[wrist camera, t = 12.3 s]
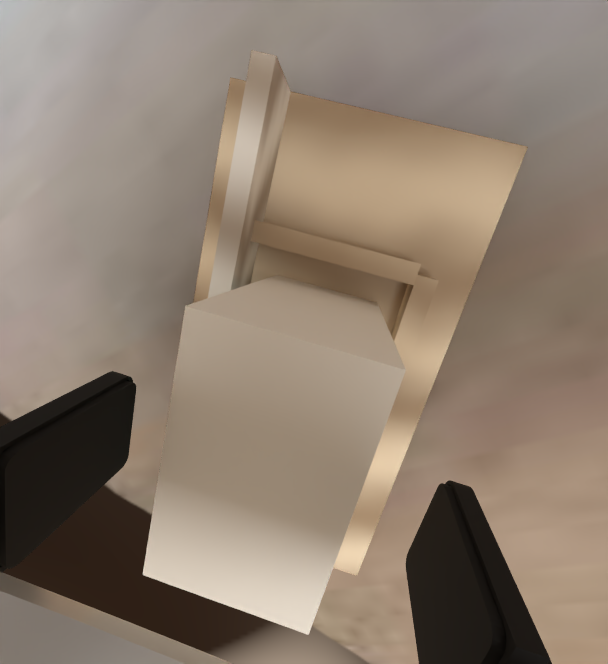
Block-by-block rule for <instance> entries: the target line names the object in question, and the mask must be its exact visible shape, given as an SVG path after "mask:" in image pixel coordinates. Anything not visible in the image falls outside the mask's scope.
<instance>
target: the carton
mask: <svg viewBox="0 0 608 664" xmlns="http://www.w3.org/2000/svg"><path fill="white" fill-rule="evenodd" d="M405 371H406V369H405V367H404V364H403V362H402V360H401V357H400V355H399V353H398V350H397V348H396V345H395V343H394V341H393V338H392V336H391V334H390V331H389V329H388V327H387V324H386V322H385V320H384V317H383V315H382V312H381V310H380V308H379V305H378V303H376V302H373V301H369V300H366V299H362V298H358V297H355V296H351V295H348V294H344V293H340V292H337V291H333V290H330V289H326V288H322V287H319V286H315V285H312V284H308V283H304V282H301V281H297V280H294V279H290V278H286V277H283V276H279V275H275V276H272V277H269V278H266V279H263V280H260V281H257V282H254V283H251V284H248V285H245V286H243V287H240V288H237V289H234V290H231V291H228V292H225V293H222V294H219V295H216V296H213V297H210V298H207V299H204V300H201V301H198V302H195V303H192V304H189V305H186V306H185V312H184V318H183V324H182V331H181V337H180V343H179V350H178V356H177V362H176V369H175V375H174V381H173V387H172V394H171V400H170V406H169V413H168V419H167V425H166V432H165V438H164V444H163V450H162V457H161V463H160V469H159V476H158V482H157V488H156V495H155V501H154V507H153V513H152V520H151V527H150V533H149V539H148V545H147V551H146V558H145V565H144V570H143V575H145V576H147V577H150V578H153V579H156V580H158V581H161V582H164V583H167V584H170V585H172V586H175V587H178V588H181V589H183V590H186V591H189V592H192V593H195V594H197V595H200V596H203V597H205V598H208V599H211V600H214V601H217V602H219V603H222V604H225V605H228V606H230V607H233V608H236V609H239V610H242V611H244V612H248V613H250V614H253V615H255V616H258V617H261V618H264V619H267V620H269V621H272V622H275V623H277V624H280V625H283V626H286V627H288V628H291V629H294V630H297V631H300V632H302V633H305V634H309V631H310V629H311V626H312V624H313V621H314V618H315V616H316V613H317V610H318V607H319V605H320V602H321V599H322V597H323V594H324V591H325V588H326V586H327V583H328V580H329V578H330V575H331V572H332V569H333V567H334V564H335V561H336V559H337V556H338V553H339V550H340V548H341V545H342V542H343V540H344V537H345V534H346V531H347V529H348V526H349V523H350V521H351V518H352V515H353V512H354V510H355V507H356V504H357V502H358V499H359V496H360V493H361V491H362V488H363V485H364V483H365V480H366V477H367V474H368V472H369V469H370V466H371V464H372V461H373V458H374V455H375V453H376V450H377V447H378V445H379V442H380V439H381V436H382V434H383V431H384V428H385V426H386V423H387V420H388V417H389V415H390V412H391V409H392V407H393V404H394V401H395V398H396V396H397V393H398V390H399V388H400V385H401V382H402V379H403V377H404V374H405Z"/></svg>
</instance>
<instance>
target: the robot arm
mask: <svg viewBox="0 0 608 664" xmlns="http://www.w3.org/2000/svg"><path fill="white" fill-rule="evenodd" d="M135 395H136V384H135V383H133V380H132V378H131V377H129V376H126V375H123V374H120V373H117V372H113V371H112V372H109V373H107V374H105V375H103V376H101V377H99V378H97V379H95V380H93V381H91V382H89V383H87V384H85V385H83V386H81V387H79V388H77V389H75V390H73V391H71V392H69V393H67V394H65V395H63V396H61V397H59V398H57V399H55V400H53V401H51V402H49V403H47V404H45V405H43V406H41V407H39V408H37V409H35V410H33V411H31V412H29V413H27V414H25V415H23V416H21V417H19V418H17V419H15V420H13V421H11V422H9V423H7V424H5V425H3V426H1V427H0V664H232V663H230V662H227V661H225V660H223V659H220V658H217V657H215V656H212V655H210V654H207V653H205V652H202V651H200V650H197V649H195V648H192V647H190V646H187V645H185V644H182V643H180V642H177V641H175V640H172V639H170V638H167V637H165V636H162V635H160V634H157V633H155V632H152V631H150V630H147V629H145V628H142V627H140V626H137V625H135V624H132V623H130V622H127V621H125V620H122V619H120V618H117V617H114V616H112V615H109V614H107V613H104V612H102V611H99V610H97V609H94V608H91V607H89V606H86V605H84V604H81V603H79V602H76V601H74V600H71V599H68V598H66V597H63V596H60V595H58V594H56V593H53V592H51V591H48V590H45V589H43V588H40V587H38V586H35V585H33V584H30V583H27V582H25V581H22V580H20V579H17V578H14V577H12V576H10V575H7V574H4V573H2V572H3V571H5V570H6V569H7V568H8V569H10V568H13V567H15V566H17V565H18V564H19V563H20V562H21V561H22V560H23V559H25V558H26V557H27V556H28V555H29V554H30V553H31V552H32V551H33V550H34V549H35V548H36V547H37V546H39V545H40V544H41V543H42V542H43V541H44V540H45V539H46V538H47V537H48V536H49V535H50V534H51V533H52V532H53V531H55V530H56V529H57V528H58V527H59V526H60V525H61V524H62V523H63V522H64V521H65V520H67V519H68V518H69V517H70V516H71V515H72V514H73V513H74V512H75V511H76V510H77V509H78V508H79V507H80V506H81V505H82V504H84V503H85V502H86V501H87V500H88V499H89V498H90V497H91V496H92V495H93V494H94V493H95V492H97V491H98V490H99V489H100V488H101V487H102V486H103V485H104V484H105V483H106V482H107V481H108V480H109V479H111V478H112V477H113V476H114V475H115V474H116V473H117V472H118V471H119V470H120V469H121V468H122V467H123V466H124V464H125V463H126V461H127V459H128V455H129V446H130V438H131V429H132V420H133V412H134V403H135ZM406 572H407V579H408V587H409V594H410V601H411V608H412V616H413V623H414V630H415V637H416V644H417V652H418V659H419V664H552V663H551V660H550V658H549V655H548V653H547V651H546V649H545V647H544V644H543V642H542V640H541V638H540V636H539V634H538V631H537V629H536V627H535V625H534V623H533V620H532V618H531V616H530V614H529V612H528V609H527V607H526V605H525V603H524V601H523V598H522V596H521V594H520V592H519V590H518V588H517V585H516V583H515V581H514V579H513V577H512V574H511V572H510V570H509V568H508V566H507V563H506V561H505V559H504V557H503V555H502V552H501V550H500V548H499V546H498V544H497V542H496V539H495V537H494V535H493V533H492V531H491V528H490V526H489V524H488V522H487V520H486V517H485V515H484V513H483V511H482V509H481V506H480V504H479V502H478V500H477V498H476V495H475V493H474V491H473V489H472V488H471V487H469V486H466V485H463V484H460V483H456V482H453V481H448V482H446V484H440V485H439V486H438V488H437V490H436V492H435V494H434V497H433V499H432V501H431V503H430V505H429V508H428V510H427V512H426V514H425V516H424V519H423V521H422V523H421V525H420V527H419V530H418V532H417V534H416V536H415V538H414V541H413V543H412V545H411V547H410V549H409V552H408V554H407V558H406Z"/></svg>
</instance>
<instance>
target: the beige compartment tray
mask: <svg viewBox="0 0 608 664" xmlns="http://www.w3.org/2000/svg"><path fill="white" fill-rule="evenodd" d="M527 148H528V147H526V146H522V145H518V144H514V143H509V142H505V141H501V140H496V139H492V138H488V137H484V136H479V135H475V134H471V133H466V132H462V131H458V130H454V129H449V128H445V127H441V126H436V125H432V124H428V123H424V122H419V121H415V120H411V119H406V118H402V117H398V116H394V115H389V114H385V113H381V112H376V111H372V110H368V109H364V108H359V107H355V106H351V105H346V104H342V103H338V102H334V101H329V100H325V99H321V98H316V97H312V96H308V95H304V94H299V93H295V92H291V91H290V88H289V86H288V83H287V81H286V78H285V76H284V74H283V71H282V69H281V66H280V64H279V61H278V59H277V56H275V55H271V54H266V53H262V52H257V51H253V50H251V56H250V62H249V67H248V73H247V79H246V81H244V80H239V79H235V78H231V77H230V83H229V89H228V96H227V102H226V108H225V114H224V120H223V126H222V132H221V138H220V144H219V150H218V156H217V162H216V168H215V174H214V180H213V186H212V192H211V198H210V204H209V210H208V217H207V223H206V229H205V235H204V241H203V247H202V253H201V259H200V265H199V271H198V277H197V283H196V289H195V295H194V301H193V303H195V302H198V301H201V300H204V299H207V298H210V297H213V296H216V295H219V294H222V293H225V292H228V291H231V290H234V289H237V288H240V287H243V286H245V285H248V284H251V283H254V282H257V281H260V280H263V279H266V278H269V277H272V276H275V275H279V276H283V277H286V278H290V279H294V280H297V281H301V282H304V283H308V284H312V285H315V286H319V287H322V288H326V289H330V290H333V291H337V292H340V293H344V294H348V295H351V296H355V297H358V298H362V299H366V300H369V301H373V302H376V303H378V305H379V308H380V310H381V312H382V315H383V317H384V320H385V322H386V324H387V327H388V329H389V331H390V334H391V336H392V338H393V341H394V343H395V345H396V348H397V350H398V353H399V355H400V357H401V360H402V362H403V364H404V367H405V369H406V371H405V374H404V377H403V379H402V382H401V385H400V388H399V390H398V393H397V396H396V398H395V401H394V404H393V407H392V409H391V412H390V415H389V417H388V420H387V423H386V426H385V428H384V431H383V434H382V436H381V439H380V442H379V445H378V447H377V450H376V453H375V455H374V458H373V461H372V464H371V466H370V469H369V472H368V474H367V477H366V480H365V483H364V485H363V488H362V491H361V493H360V496H359V499H358V502H357V504H356V507H355V510H354V512H353V515H352V518H351V521H350V523H349V526H348V529H347V531H346V534H345V537H344V540H343V542H342V545H341V548H340V550H339V553H338V556H337V559H336V561H335V564H334V567H333V568H336V569H339V570H341V571H344V572H347V573H350V574H353V575H356V576H357V574H358V572H359V569H360V567H361V564H362V562H363V559H364V557H365V554H366V552H367V549H368V547H369V544H370V542H371V539H372V537H373V534H374V531H375V529H376V526H377V524H378V521H379V519H380V516H381V514H382V511H383V509H384V506H385V504H386V501H387V499H388V496H389V494H390V491H391V489H392V486H393V484H394V481H395V479H396V476H397V474H398V471H399V469H400V466H401V464H402V461H403V459H404V456H405V454H406V451H407V449H408V446H409V444H410V441H411V439H412V436H413V434H414V431H415V429H416V426H417V424H418V421H419V419H420V416H421V414H422V411H423V409H424V406H425V404H426V401H427V399H428V396H429V394H430V391H431V389H432V386H433V384H434V381H435V379H436V376H437V374H438V371H439V368H440V366H441V363H442V361H443V358H444V356H445V353H446V351H447V348H448V346H449V343H450V341H451V338H452V336H453V333H454V331H455V328H456V326H457V323H458V321H459V318H460V316H461V313H462V311H463V308H464V306H465V303H466V301H467V298H468V296H469V293H470V291H471V288H472V286H473V283H474V281H475V278H476V276H477V273H478V271H479V268H480V266H481V263H482V261H483V258H484V256H485V253H486V251H487V248H488V246H489V243H490V241H491V238H492V236H493V233H494V231H495V228H496V226H497V223H498V221H499V218H500V216H501V213H502V211H503V208H504V206H505V203H506V200H507V198H508V195H509V193H510V190H511V188H512V185H513V183H514V180H515V178H516V175H517V173H518V170H519V168H520V165H521V163H522V160H523V158H524V155H525V153H526V150H527Z"/></svg>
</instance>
